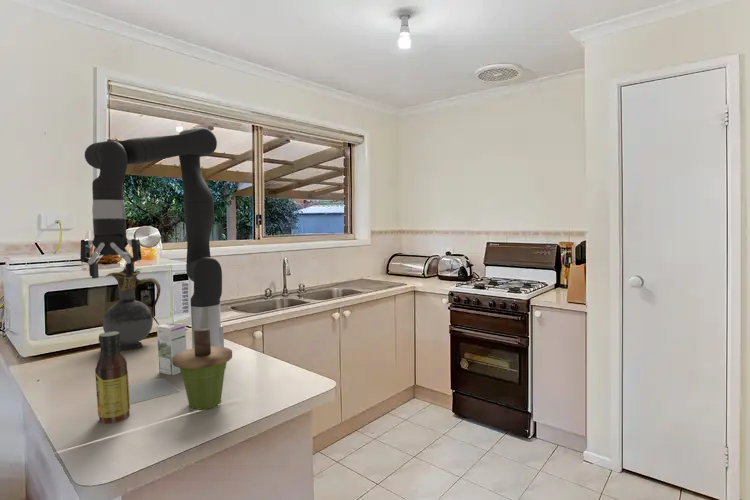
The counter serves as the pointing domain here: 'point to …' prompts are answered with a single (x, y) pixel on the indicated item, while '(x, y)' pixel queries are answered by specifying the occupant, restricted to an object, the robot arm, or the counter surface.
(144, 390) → the rubber mat
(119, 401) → the sauce bottle
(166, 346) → the syrup box
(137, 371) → the counter surface
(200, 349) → the walnut lid
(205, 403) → the plant pot
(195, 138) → the robot arm
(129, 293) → the pitcher
